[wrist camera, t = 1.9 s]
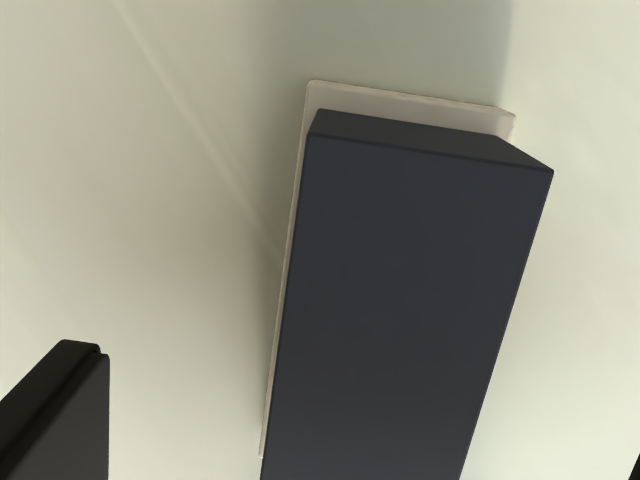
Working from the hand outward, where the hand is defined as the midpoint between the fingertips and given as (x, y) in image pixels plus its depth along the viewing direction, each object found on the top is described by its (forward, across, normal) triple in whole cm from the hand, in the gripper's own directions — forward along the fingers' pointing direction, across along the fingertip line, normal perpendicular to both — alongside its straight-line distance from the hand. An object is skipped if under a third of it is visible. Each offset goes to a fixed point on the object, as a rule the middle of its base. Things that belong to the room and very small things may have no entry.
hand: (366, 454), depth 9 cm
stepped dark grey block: (+6, 0, -1) cm, 6 cm away
